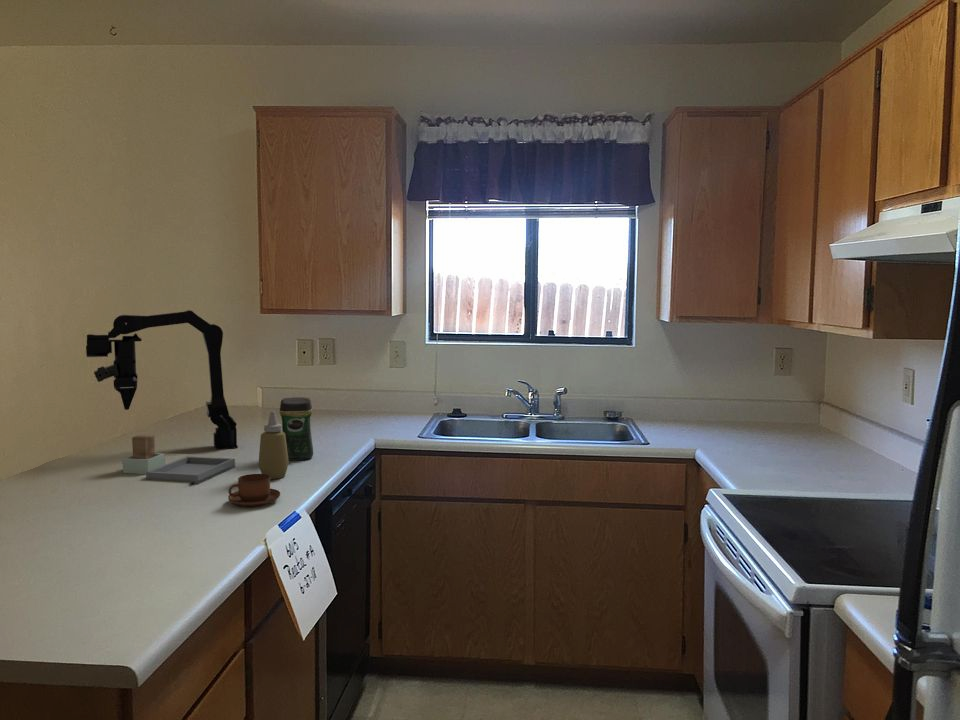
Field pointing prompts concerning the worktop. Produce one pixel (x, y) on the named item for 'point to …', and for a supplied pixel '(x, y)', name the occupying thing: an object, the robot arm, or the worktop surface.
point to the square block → (143, 446)
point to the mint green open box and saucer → (253, 491)
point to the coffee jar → (297, 427)
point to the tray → (191, 469)
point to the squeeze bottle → (273, 449)
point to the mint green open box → (142, 464)
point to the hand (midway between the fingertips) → (127, 407)
